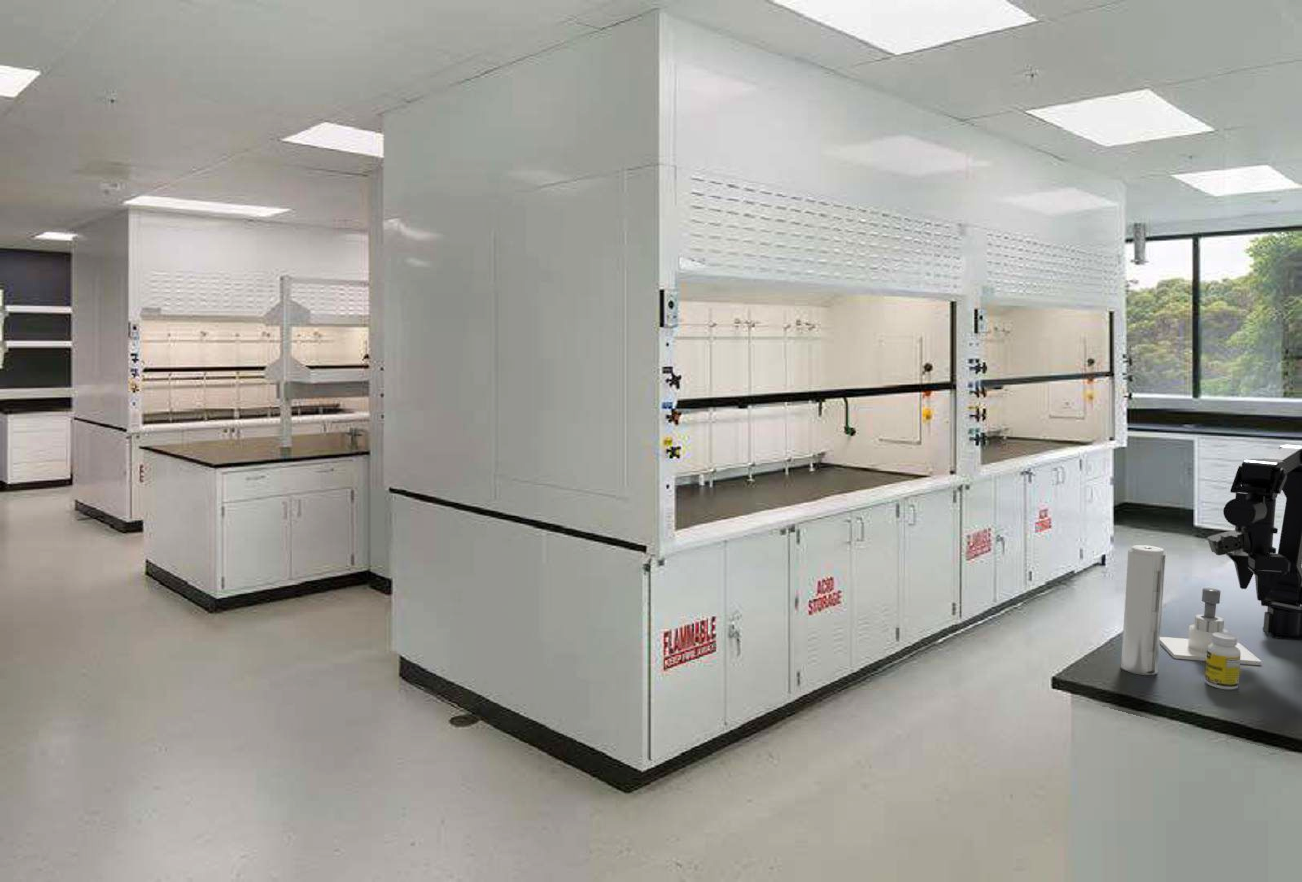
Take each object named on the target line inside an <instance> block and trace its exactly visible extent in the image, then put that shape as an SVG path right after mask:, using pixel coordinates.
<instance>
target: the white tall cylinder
mask: <svg viewBox="0 0 1302 882" xmlns="http://www.w3.org/2000/svg"><path fill="white" fill-rule="evenodd" d="M1126 562H1127V563H1126V565H1127V566H1126V578H1125V597H1124V610H1123V611H1124V612H1123V630H1122V641H1121V642H1122V645H1121V659H1120V660H1121V661H1120V666H1121V667H1120V668H1121V669H1122V670H1124V671H1125V672H1128V673H1131V674H1135V675H1139V676H1155V675H1156V674H1158V672H1159V659H1160V645H1161V644H1160V637H1161V628H1162V627H1161V626H1162V613H1163V599H1164V583H1165V570H1166V569H1165V567H1166V553H1165V549H1164V548H1162V547H1158V546H1153V545H1145V544H1137V545H1132V546H1131V548H1130V549H1128V550H1127V561H1126Z"/></svg>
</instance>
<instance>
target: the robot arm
mask: <svg viewBox="0 0 1302 882" xmlns="http://www.w3.org/2000/svg"><path fill="white" fill-rule="evenodd" d="M1229 491H1230V493H1232V494H1235V498H1233V499H1230V500H1229V501H1228V502H1226V504H1224V507H1223V510H1222V512H1223V516H1224V519H1225V520H1226V521H1227V523H1229V524H1231V525H1232V526H1233V527H1234V526H1235V527H1234V528H1235V529H1234V530H1230V531H1225V532H1220V533H1217V534H1212V535H1210V536H1207V539H1206V540H1207V541H1208V544H1209V547H1210V551H1211V552H1212V553H1214V554H1215V555H1216V556H1225V555H1226V556H1227V558H1229V559H1230V560H1231V561H1232V562H1233V564H1234V567H1235V571H1236V577H1237V580H1238V584H1239V587H1240V589H1241V590H1247V588H1249V587H1248V586H1249V585H1250V583H1251V580H1252V578H1253V576H1254V580H1255V590H1256V600H1258V601H1260V605H1261V607H1267V609H1266V610H1267V611H1265V612H1264V618H1263V627H1262V630H1263V631H1264V632H1266V633H1267V635H1270V636H1271V637H1272V638H1274V639H1275V638H1276V639H1287V640H1298V641H1299V640H1301V641H1302V445H1301V444H1300V445H1298V444H1283V445H1282V444H1281V445H1280V446H1279V448H1278V449H1277V450H1275V451H1273V452H1271V453H1270V454H1268V455H1267V456H1265V457H1263V458H1248V459H1245V460H1243V461H1242V463H1241V464H1240V465H1238V467H1237V471H1236V473H1235V475H1234V479H1233V481H1232V484H1231V487H1230V490H1229ZM1282 492H1283V494H1284V496H1285V498H1286V501H1285V505H1284V512H1283V520H1282V525H1281V532H1280V538H1279V544H1278V551H1277V548H1276V547H1274V546H1273V541H1274V534H1278V530H1279V529H1278V527H1276V526H1275V516H1276V507H1277V505H1276V504H1277V498H1278V495H1280V494H1281V493H1282Z"/></svg>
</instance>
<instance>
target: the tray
mask: <svg viewBox="0 0 1302 882" xmlns="http://www.w3.org/2000/svg"><path fill="white" fill-rule="evenodd" d="M1188 639H1189V638H1182V637H1169V636H1167V637H1166V636H1160V645H1161V646H1162V647H1163V648H1164V650H1166V652H1168V654H1169V655H1170V656H1171V657H1172V658H1174V659H1175V660H1176V659H1179V660H1188V661H1190V660H1191V661H1202V662H1206V659H1207V653H1203V652H1199V651H1195V650H1193V649H1191V648H1189V647H1188ZM1235 647H1237V648H1238V649H1239V650H1240V652H1241V656H1240V665H1251V666H1252V665H1253V666H1262V665H1263V664H1262V663H1263V662H1262V660H1261V659H1259V658H1258V657H1257V656H1255V654H1253V653H1252V652H1251V651H1250V650H1248V649H1247V648H1246V647H1245V646H1243V645H1242V644H1241V643H1240V642H1237V645H1236V646H1235Z"/></svg>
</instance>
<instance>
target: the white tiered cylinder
mask: <svg viewBox="0 0 1302 882" xmlns="http://www.w3.org/2000/svg"><path fill="white" fill-rule="evenodd" d="M1224 624H1225V619H1224V618H1223V617H1220V616H1218V615H1215V618H1207V617H1204V613H1203V614H1202V613H1201V614H1195V615H1194V624H1190V625H1189V627H1188V638H1187V639H1188V647H1189V648H1191V649H1193V650H1195V651H1199V652H1203V653H1207V648H1208V646H1209V645H1210V644H1212V643H1213V641H1212V635H1213V633H1216V632H1221V633H1228V634H1229V631H1228V630H1227V629H1225V628H1224V627H1225V626H1224Z"/></svg>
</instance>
